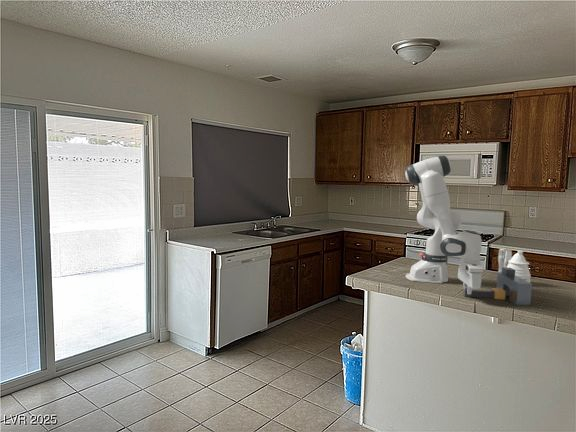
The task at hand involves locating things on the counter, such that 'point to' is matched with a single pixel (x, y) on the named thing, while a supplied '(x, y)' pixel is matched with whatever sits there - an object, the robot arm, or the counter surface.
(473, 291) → the plug
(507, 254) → the beer glass
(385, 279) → the counter surface
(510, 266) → the honey pot
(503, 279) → the grey block
